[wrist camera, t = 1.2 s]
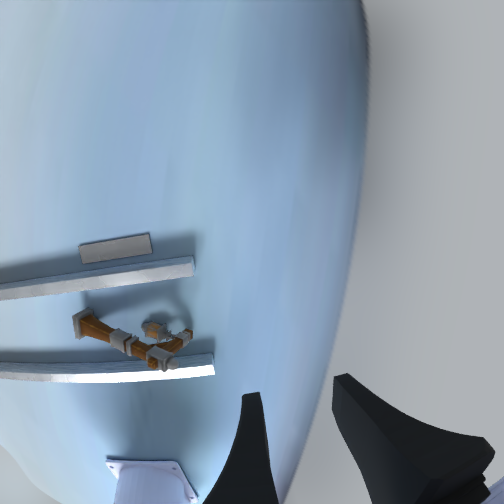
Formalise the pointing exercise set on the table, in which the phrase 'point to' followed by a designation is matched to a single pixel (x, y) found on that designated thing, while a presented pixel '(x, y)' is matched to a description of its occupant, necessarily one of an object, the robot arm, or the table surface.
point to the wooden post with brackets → (135, 340)
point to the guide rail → (98, 280)
